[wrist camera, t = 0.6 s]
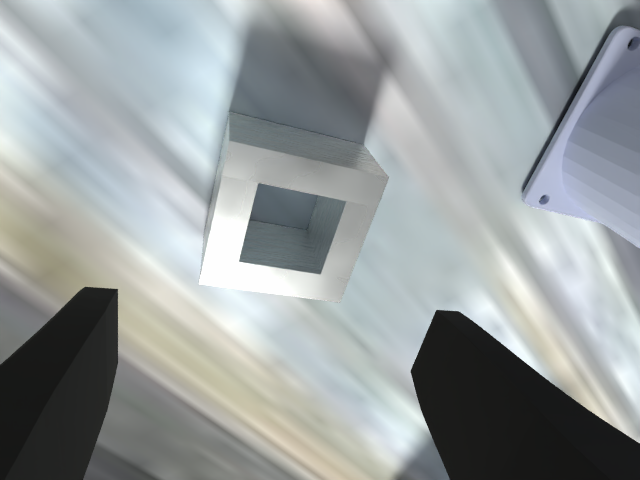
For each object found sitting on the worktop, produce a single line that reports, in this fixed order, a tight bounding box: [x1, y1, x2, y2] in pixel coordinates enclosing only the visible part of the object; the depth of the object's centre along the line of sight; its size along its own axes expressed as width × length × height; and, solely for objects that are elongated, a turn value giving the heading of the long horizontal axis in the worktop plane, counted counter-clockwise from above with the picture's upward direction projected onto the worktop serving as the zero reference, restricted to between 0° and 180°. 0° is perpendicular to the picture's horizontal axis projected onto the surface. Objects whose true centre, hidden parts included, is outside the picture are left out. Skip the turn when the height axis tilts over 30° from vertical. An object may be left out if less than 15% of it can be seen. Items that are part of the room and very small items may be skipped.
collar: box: [199, 111, 389, 303], centre depth 18 cm, size 6×6×4 cm
